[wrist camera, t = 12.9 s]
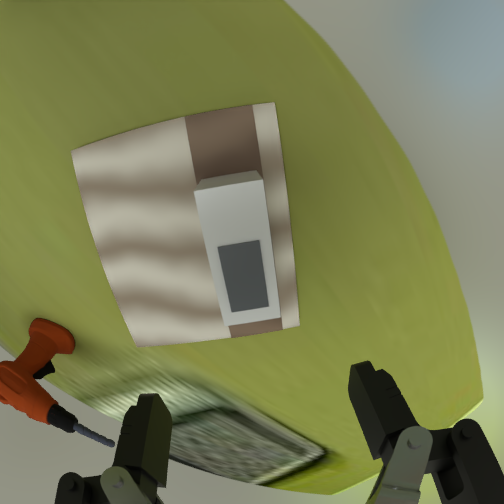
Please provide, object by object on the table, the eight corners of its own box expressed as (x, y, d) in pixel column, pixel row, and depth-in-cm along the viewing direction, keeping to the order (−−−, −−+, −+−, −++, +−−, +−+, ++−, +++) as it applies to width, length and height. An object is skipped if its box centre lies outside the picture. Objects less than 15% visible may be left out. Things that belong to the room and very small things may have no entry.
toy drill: (144, 385, 35) (107, 471, 21) (38, 333, 34) (-15, 394, 20) (147, 363, 33) (104, 457, 19) (35, 309, 32) (-27, 370, 18)
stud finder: (201, 179, 25) (193, 191, 20) (256, 170, 25) (263, 180, 20) (225, 294, 30) (224, 327, 25) (272, 286, 30) (281, 318, 25)
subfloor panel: (76, 149, 24) (70, 151, 23) (272, 103, 24) (274, 102, 23) (139, 341, 34) (136, 348, 32) (297, 319, 34) (299, 326, 32)
